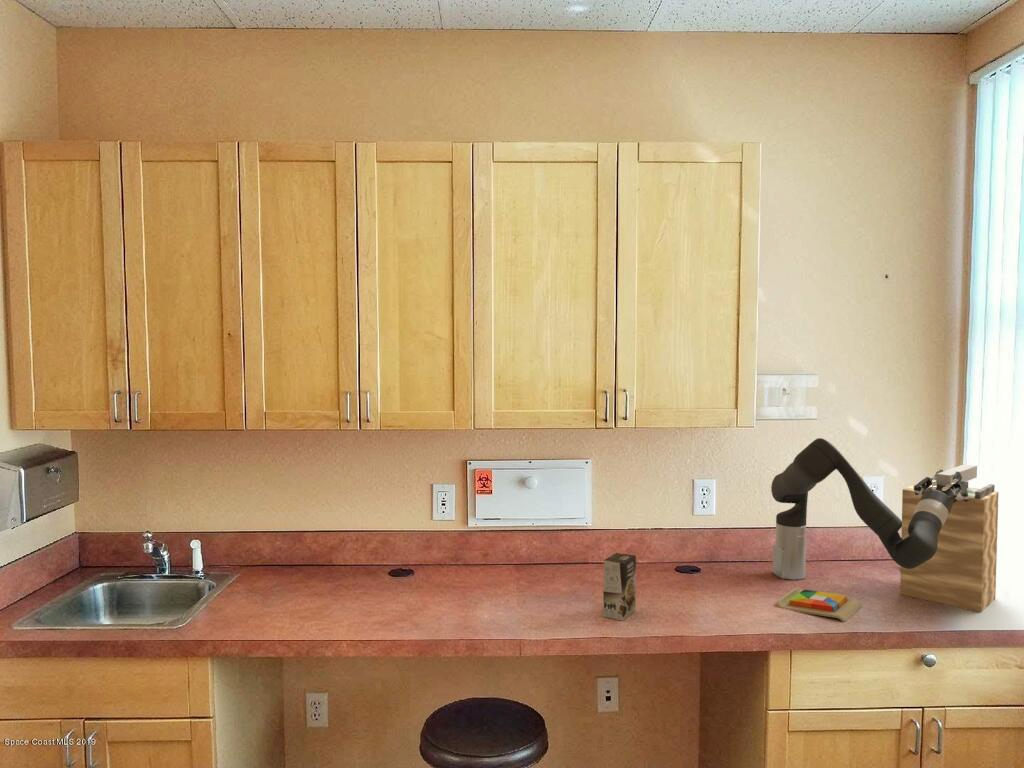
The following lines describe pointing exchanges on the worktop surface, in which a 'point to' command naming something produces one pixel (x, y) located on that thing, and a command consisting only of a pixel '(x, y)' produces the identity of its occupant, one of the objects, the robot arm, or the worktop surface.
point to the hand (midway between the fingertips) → (950, 473)
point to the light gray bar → (948, 475)
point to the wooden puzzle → (820, 603)
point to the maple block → (957, 552)
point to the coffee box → (619, 586)
